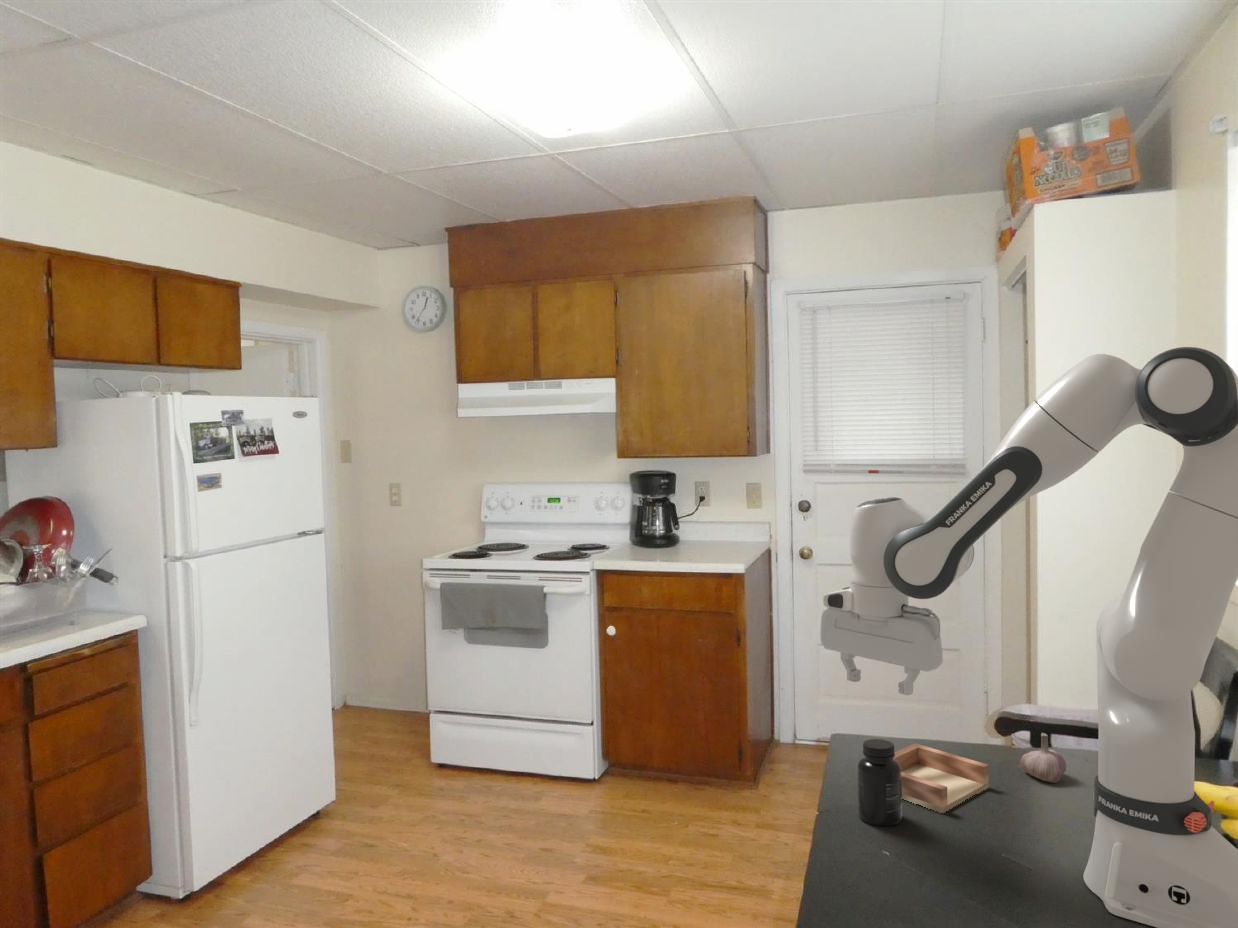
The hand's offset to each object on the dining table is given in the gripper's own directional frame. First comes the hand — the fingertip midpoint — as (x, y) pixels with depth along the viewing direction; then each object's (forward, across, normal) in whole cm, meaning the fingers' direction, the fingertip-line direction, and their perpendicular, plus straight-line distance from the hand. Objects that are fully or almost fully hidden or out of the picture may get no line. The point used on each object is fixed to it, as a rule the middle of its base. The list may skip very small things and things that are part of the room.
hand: (879, 687), depth 141 cm
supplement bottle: (+21, 0, 0) cm, 21 cm away
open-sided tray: (+21, +1, -16) cm, 26 cm away
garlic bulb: (+21, -10, -35) cm, 42 cm away
